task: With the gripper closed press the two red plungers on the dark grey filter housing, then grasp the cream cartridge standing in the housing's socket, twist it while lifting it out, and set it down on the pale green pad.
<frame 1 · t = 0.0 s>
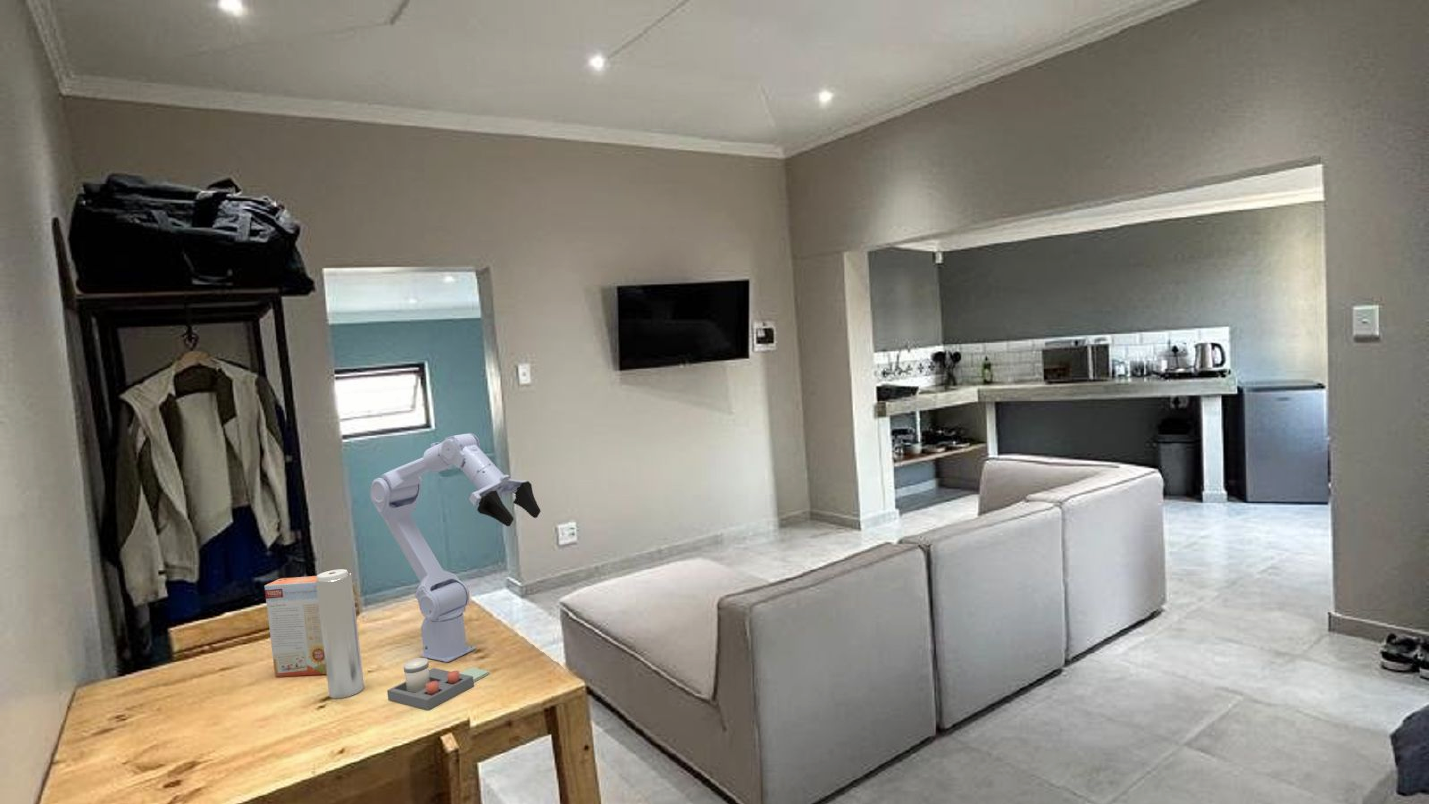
hand: (524, 518, 153), 32 cm above the table, tool tilted 50°, fingers open, 7 cm apart
pad: (470, 677, 155), on the table
plunger near: (432, 688, 144), point 3 cm above the table, slide at 0.0 cm
cartridge: (419, 694, 148), resting in housing
aluminum foil roll: (347, 692, 153), on the table
housing: (431, 693, 148), on the table
plunger far: (453, 678, 148), point 3 cm above the table, slide at 0.0 cm
cracker box: (312, 671, 166), on the table
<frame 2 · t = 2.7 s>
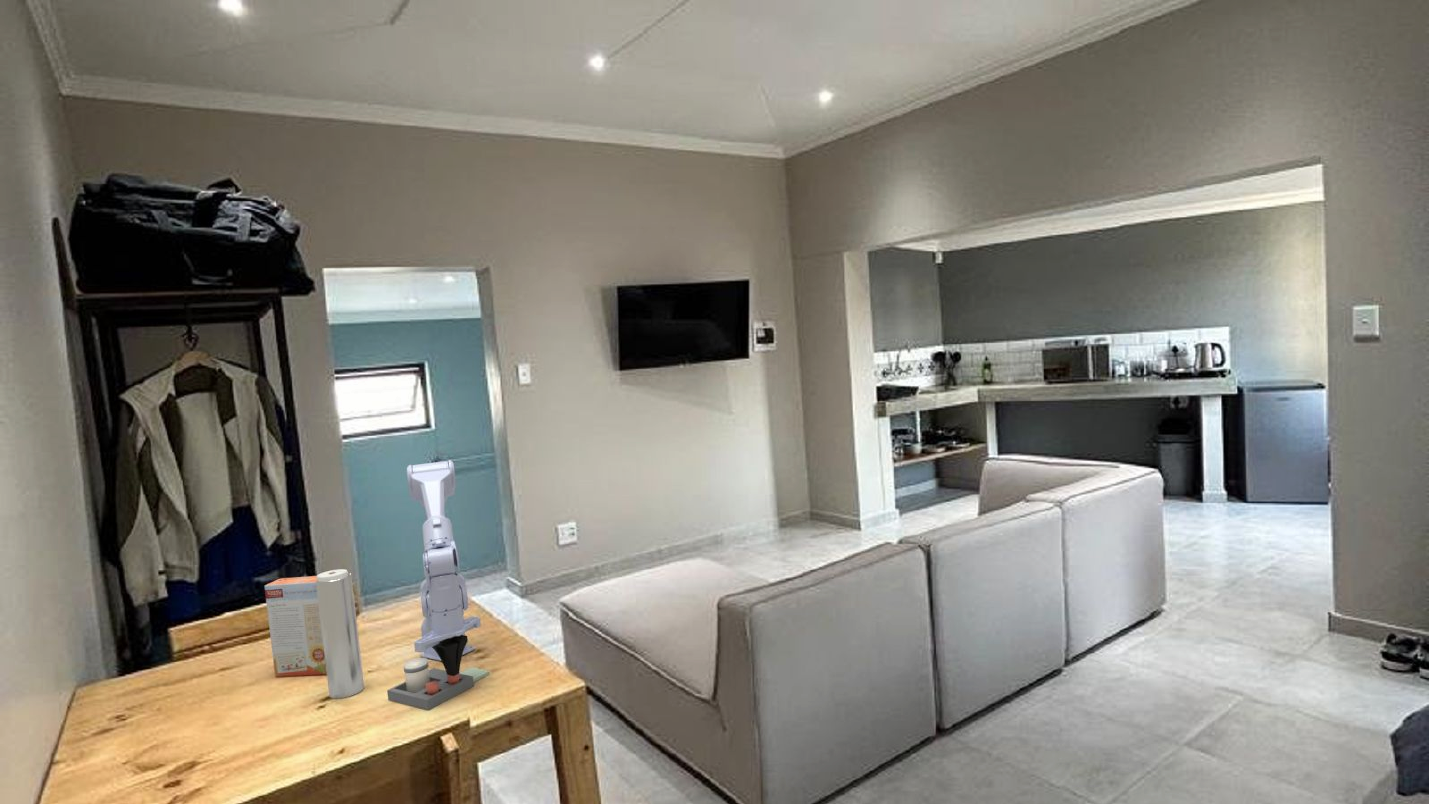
hand: (453, 674, 148), 3 cm above the table, tool pointing down, fingers closed, pressing on plunger far
plunger far: (453, 678, 148), point 2 cm above the table, slide at 0.1 cm, touching gripper
everything else where it was.
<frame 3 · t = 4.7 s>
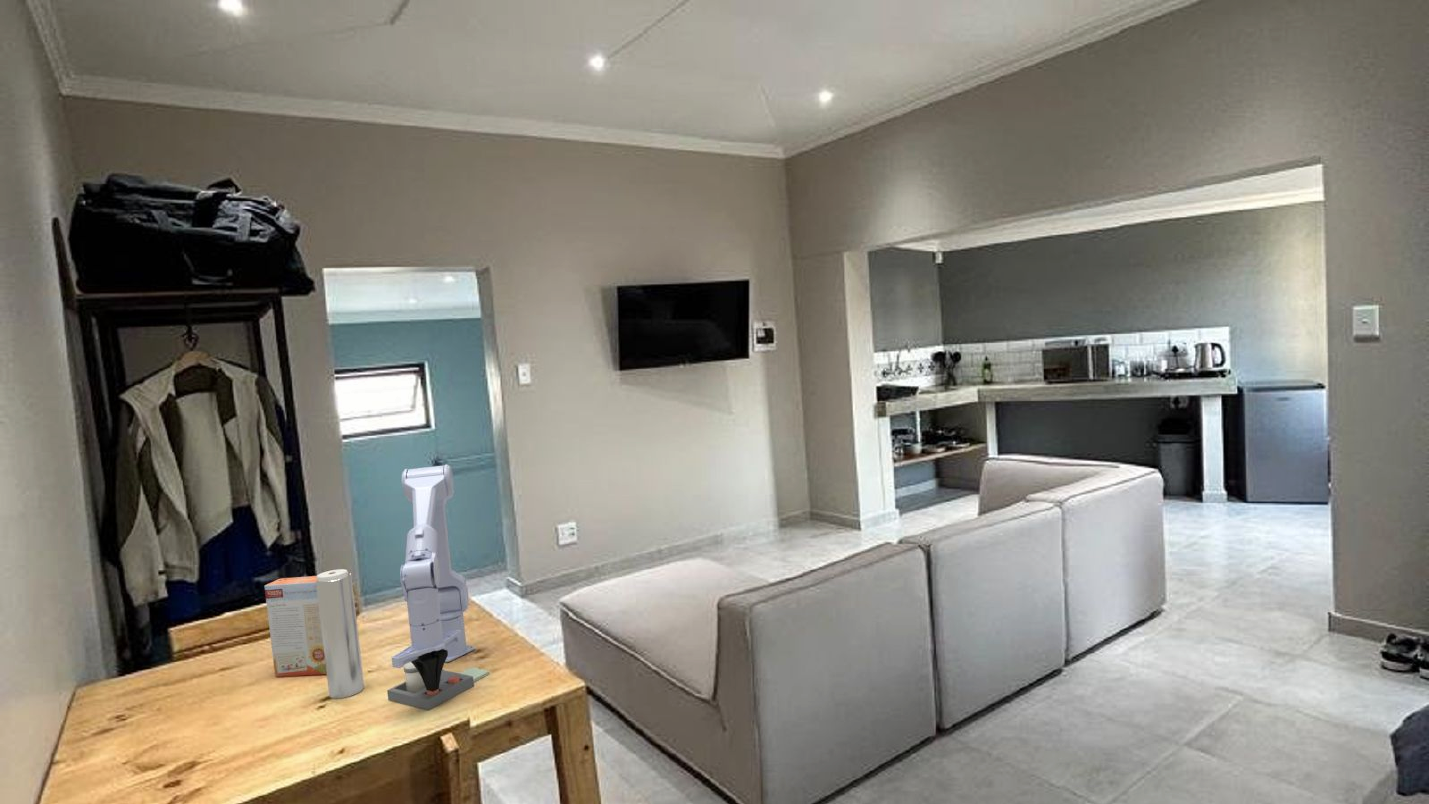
hand: (432, 689, 144), 2 cm above the table, tool pointing down, fingers closed, pressing on plunger near
plunger near: (433, 694, 144), point 1 cm above the table, slide at 1.1 cm, touching gripper
plunger far: (454, 683, 148), point 1 cm above the table, slide at 1.1 cm
everything else where it was.
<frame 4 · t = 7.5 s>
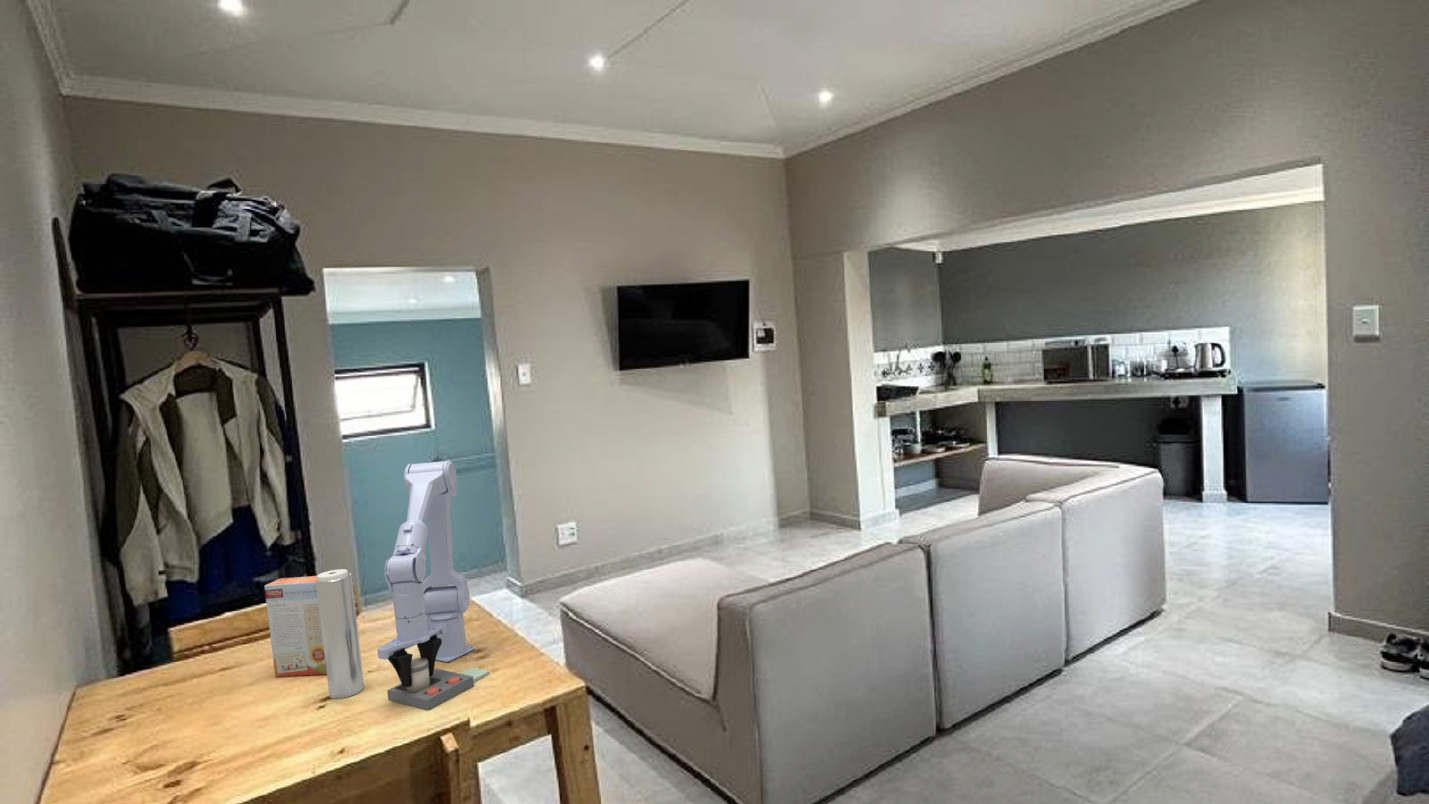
hand: (417, 680, 148), 3 cm above the table, tool pointing down, fingers closed on cartridge, 4 cm apart
plunger near: (433, 694, 144), point 1 cm above the table, slide at 1.1 cm
cartridge: (419, 693, 148), resting in housing, touching gripper
everything else where it was.
when the fingers open (4 cm above the table, at t = 11.0 s): cartridge stays where it is, resting on pad.
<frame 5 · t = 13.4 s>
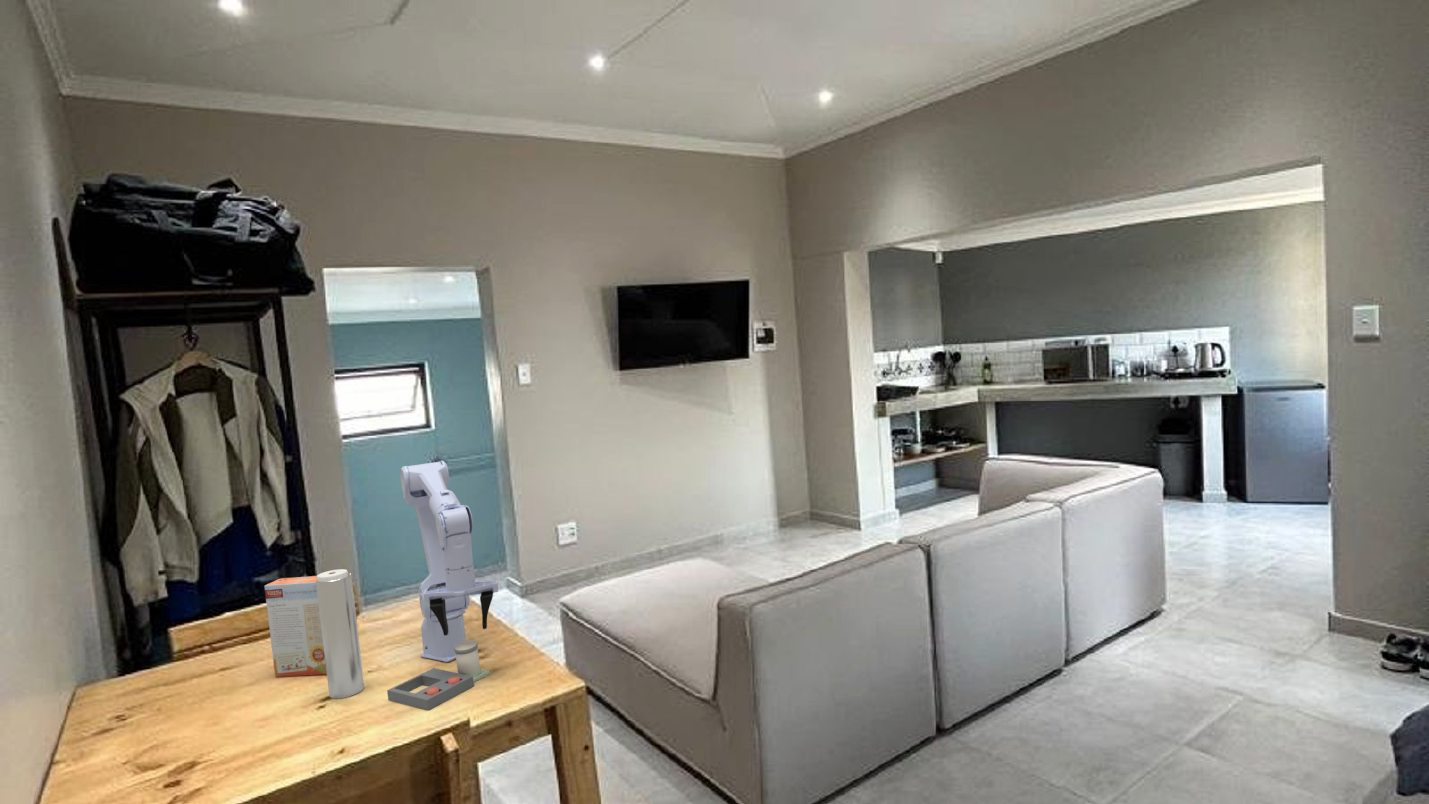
hand: (465, 630, 154), 10 cm above the table, tool pointing down, fingers open, 7 cm apart
cartridge: (469, 674, 154), point 1 cm above the table, touching pad
everything else where it was.
at the end: cartridge 0.2 cm off-centre on the pad, point 0.7 cm above the pad's base; plunger far slide at 1.1 cm; plunger near slide at 1.1 cm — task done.
